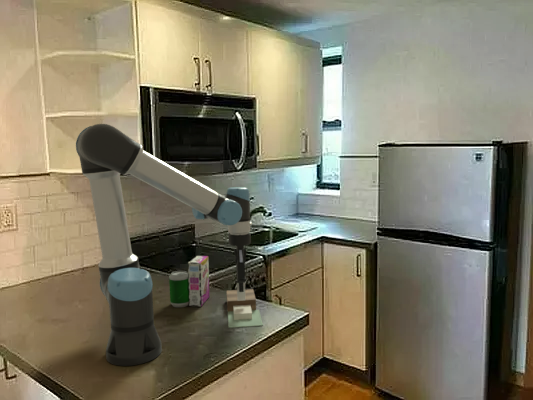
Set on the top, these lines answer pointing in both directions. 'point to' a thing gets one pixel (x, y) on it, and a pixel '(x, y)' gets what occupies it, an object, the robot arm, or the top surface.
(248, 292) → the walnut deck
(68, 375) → the top surface
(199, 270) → the candy bar box
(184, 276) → the soda can
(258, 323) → the sage mat
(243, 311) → the ivory tile
